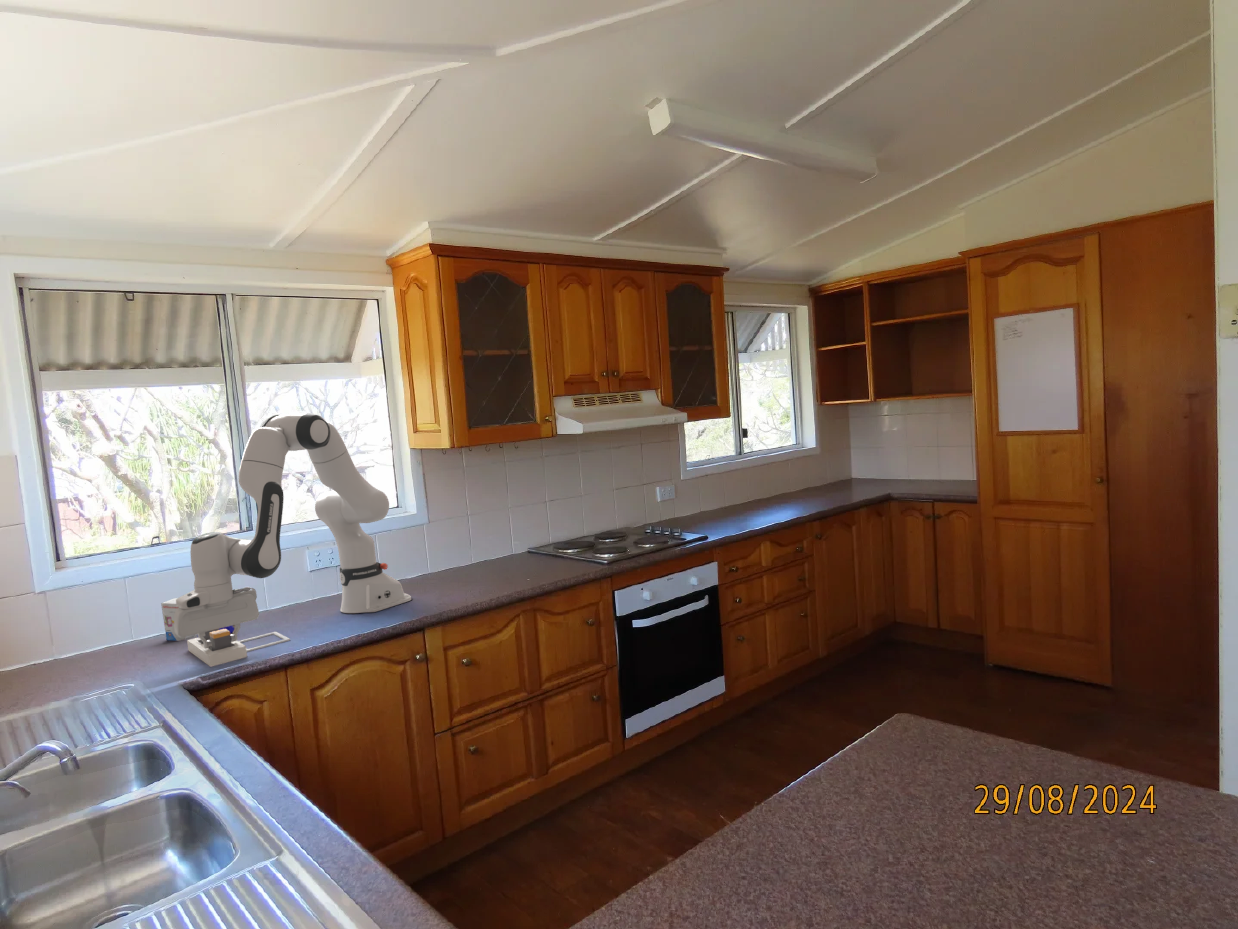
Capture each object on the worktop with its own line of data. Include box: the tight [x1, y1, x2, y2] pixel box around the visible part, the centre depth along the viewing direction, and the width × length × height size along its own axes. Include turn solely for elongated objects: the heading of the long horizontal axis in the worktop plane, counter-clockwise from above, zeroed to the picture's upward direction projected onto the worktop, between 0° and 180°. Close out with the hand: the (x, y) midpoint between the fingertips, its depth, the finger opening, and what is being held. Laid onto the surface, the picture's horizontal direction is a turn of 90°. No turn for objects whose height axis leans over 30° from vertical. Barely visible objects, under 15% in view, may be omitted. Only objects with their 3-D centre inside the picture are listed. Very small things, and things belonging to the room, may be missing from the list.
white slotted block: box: [186, 637, 248, 668], centre depth 210 cm, size 9×22×4 cm, turn 42°
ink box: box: [160, 597, 197, 642], centre depth 232 cm, size 9×5×12 cm, turn 70°
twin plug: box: [201, 629, 219, 644], centre depth 214 cm, size 4×4×7 cm
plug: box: [209, 629, 232, 651], centre depth 206 cm, size 4×4×7 cm
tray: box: [237, 631, 291, 653], centre depth 218 cm, size 12×12×1 cm
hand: (220, 644), depth 206 cm, fingers open, 5 cm apart
